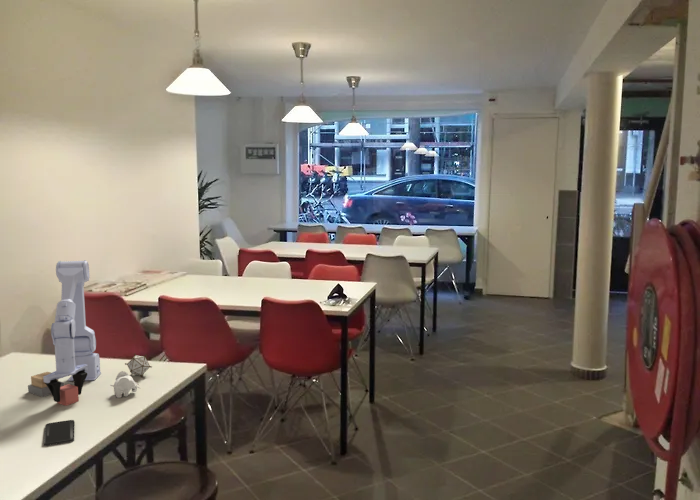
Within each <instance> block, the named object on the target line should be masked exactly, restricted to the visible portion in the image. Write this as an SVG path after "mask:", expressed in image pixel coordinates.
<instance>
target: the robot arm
mask: <svg viewBox="0 0 700 500" xmlns="http://www.w3.org/2000/svg"><path fill="white" fill-rule="evenodd" d="M89 266H90V265H89V261H87V260H70V261H69V260H68V261H67V260H66V261H65V260H64V261H61V260H59V261H57V263H56V264H55V274H56V277H57V279H58V282H60V283H61V300H60V301H58V302H57V304H56V309H55V318H54V322H53V323H52V324H51V325H50V335H51V339H52V344H53V346H54V355H55V370H54V371H53V372H51V373H50V374H48V375H46V376H43V379H44V382H45V384H46V385H47V387H48V388H49V390H50V391H51V394H50V395H51V396H52V399H53V402H55V403H57V402H60V386H61V383H60V382H61V381H60V382H58V381H59V379H63V378H65V377H68V379H67V382H73V385H74V386H77V387H78V396H80V395H81V394H82V391H83V387H84V383H85V381H95V380H96V379H97V378H98V377H100V375H101V373H102V372H101V361H100V360H101V359H100V354H99V353H96V352H95V351H96V348H97V339H96V333H95V330H94V329H92V328H90V327H89V326H87V323H86V307H85V306H86V305H85V304H86V303H85V289H84V287H85V283H86V282H90V267H89ZM69 376H70V377H69ZM57 379H58V381H57Z"/></svg>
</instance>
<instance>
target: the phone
mask: <svg viewBox="0 0 700 500" xmlns="http://www.w3.org/2000/svg"><path fill="white" fill-rule="evenodd" d="M44 426H45V427H44V435H43V443H42V444H43V446H44V447H50V446H57V445H61V444H63V445H64V444H69V443H73V442H75V420H74V419H68V420H62V421H56V422H48V423H46V424H45V425H44Z"/></svg>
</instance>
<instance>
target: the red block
mask: <svg viewBox="0 0 700 500" xmlns="http://www.w3.org/2000/svg"><path fill="white" fill-rule="evenodd" d="M79 398H80V397H79V395H78V387H77V386H74V384H71V383H70V384H64V386H62V387H60V402H56V403H57V404H60V405H63V406H69V405H72V404H74V403H77V402H79V401H80V400H79Z"/></svg>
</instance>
